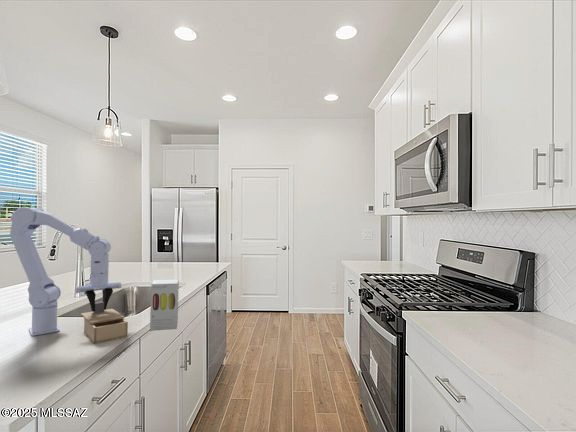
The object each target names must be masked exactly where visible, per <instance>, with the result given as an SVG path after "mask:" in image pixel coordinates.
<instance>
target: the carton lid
mask: <svg viewBox="0 0 576 432" xmlns="http://www.w3.org/2000/svg"><path fill="white" fill-rule="evenodd" d="M80 316H81V317H82V318H83V319H86V320H87V321H88V322H89V323H90V324H95V323H101V322H107V321H112V320H118V319H124V320H125V318H126V317H125V316H124V315H123V314H122V313H120V312H118V311H116V309H113V308H108V309H107V308H106V310H104V302H103V300H102V301H95V311H94V312H92V311H89V312H88V311H87V312H82V313H80Z"/></svg>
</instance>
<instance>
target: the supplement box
mask: <svg viewBox="0 0 576 432" xmlns="http://www.w3.org/2000/svg"><path fill="white" fill-rule="evenodd" d="M179 282H180V281H179V279H178V278H177V279H154V280H153V281H152V283H151V286H150V287H151V291H150V293H151V294H150V312H149V313H150V318H149V319H150V320H149V331H151V332H152V331H164V330H166V331H167V330H177V329H178V322H179V321H178V320H179Z"/></svg>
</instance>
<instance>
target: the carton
mask: <svg viewBox="0 0 576 432" xmlns="http://www.w3.org/2000/svg"><path fill="white" fill-rule="evenodd" d="M83 319H84V323H83V334H84V335H85V336H86V337H87V338H88V339H89V340H90V341H91V342H92V343H93V344H94V345H95V344H100V343H104V342H109V341H114V340H118V339H119V340H120V339H123V338H128V330H129V329H128V328H129V327H128V326H129V322H128V321H127V320H125V318H124V319H118V320H112V321H107V322H101V323H95V324H90V323H89V322H88V321H87V320H86V319H85V318H83Z"/></svg>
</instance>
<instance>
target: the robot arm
mask: <svg viewBox="0 0 576 432" xmlns="http://www.w3.org/2000/svg"><path fill="white" fill-rule="evenodd" d="M10 220H11V225H10V232H9V237H10V239H11V242H12V244H13V246H14V249H15V252H16V254H17V256H18V258H19V260H20V261H19V262H20V263H21V266H22V268H23V271H24V273H25V274H26V277H27V280H28V282H29V283H28V288H27V292H28V302H29V304H30V305H31V309H32V310H31V313H32V314H31V327H29V328H28V331H29V333H30V336H31V337H34V336H39V335H44V334H51V333H56V332H60V328H59V327H58V299H59V298H60V297H61V295H62V292H61V289H60V287H59V286H58V285H56V284H55V282H54V280H53V279H52V278H50V277H49V276H48V274H47V272H46V271H47V270H46V269H45V267H44V264H43V262H42V259H41V257H40V254H39V252H38V250H37V247H36V246H35V243H34V240H33V237H32V235H33V234H34V233H35V231H36V229H38V228H39V227H41V226H48V227H51V228H52V229H54V230H57V231H58V232H60V233H62V234H64V235H65V236H68V237H69V239H70V242H72V243H73V244H75V245H77V246H78V247H80V248H83V249H84V250H85V251H88V253H89V254H90V274H89V275H90V278H89V279H90V282H89V284H87V285H82V286H75V294H80V293H84V294H85V295H86V297H87V299H88V302H89V305H90V309H91V311H90V312H94V311H95V302H96V295H97V294H96V291H102V292H101V293H102V301H103V302H104V310H106V309H107V306H108V303H109V300H110V298H111V297H112V294H113V293H114V290H113V289H121V288H122V282H121V281H120V282H119V281H118V282H109V267H110V266H109V262H110V261H109V252H110V251H111V249H112V248H111V247H112V246H111V243H110V242H109V241H107V239H106V238H105V239H104V238H103V239H102V238H101V236H99V235H97V236H96V235H94V234H93V233H91V232H90V231H89V229H88V228H86V227H85V228H82V227H78V228H75V227H73V226H71V224H69V223H67V222H65V221H63V220H62V219H61V218H59V217H57V216H55V215H54V214H52V213H51V212H49V211H47V210H46V211H45V210H44V209H43V208H39V207H27V206H22V207H19V208H17V209H15V210H14V212H13V213H12V214H11V216H10Z"/></svg>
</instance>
